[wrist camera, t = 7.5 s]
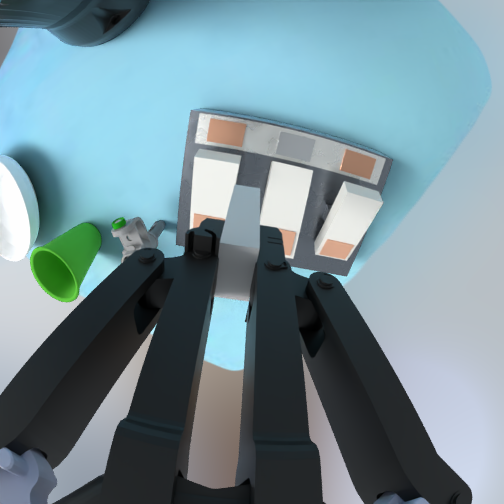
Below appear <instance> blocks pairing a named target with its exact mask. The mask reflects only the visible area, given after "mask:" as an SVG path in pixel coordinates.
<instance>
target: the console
mask: <svg viewBox="0 0 504 504" xmlns="http://www.w3.org/2000/svg"><path fill="white" fill-rule="evenodd" d="M199 149H204V150H211V151H217V152H223V153H229V154H234V155H240V156H241V161H240V166H239V171H238V177H237V182H236V185H242V186H248V187H254V188H260V214H261V209H262V204H263V199H264V195H265V190H266V185H267V180H268V175H269V170H270V166H271V162H272V161H275V162H280V163H284V164H288V165H293V166H297V167H301V168H305V169H309V170H313V174H312V179H311V184H310V188H309V193H308V198H307V202H306V207H305V211H304V215H303V220H302V224H301V228H300V233H299V237H298V241H297V245H296V249H295V253H294V258H293V259H291V258H286V257H285V260H286V261H287V262H288V263H289V264H290V266H292V267H298V268H303V269H309V270H314V271H320V272H325V273H331V274H337V275H342V276H347V275H348V273H349V271H350V268H351V266H352V264H353V262H354V260H355V257H356V255H357V253H358V250H359V248H360V246H361V244H362V241H363V239H364V236H365V234H366V232H367V230H366V232H365V234H364V235H363V237H362V238H361V240H360V241H359V243H358V245H357V246H356V248H355V249H354V251H353V252H352V254H351V255H350V257H349V258H348V260H347V261H346V260H341V259H336V258H331V257H326V256H321V255H315V246H314V242H315V240H316V238H317V236H318V234H319V232H320V230H321V228H322V226H323V224H324V222H325V220H326V218H327V216H328V214H329V212H330V210H331V208H332V206H333V203H334V201H335V199H336V197H337V195H338V193H339V191H340V189H341V186H342V184H343V182H344V181H346V182H349V183H353V184H356V185H359V186H363V187H366V188H369V189H372V190H375V191H379V193H380V196H381V193H382V190H383V188H384V185H385V182H386V179H387V176H388V173H389V171H390V168H391V165H392V162H393V159H391V158H389V157H388V156H386V155H384V154H382V153H380V152H378V151H377V150H374V149H371V148H368V147H365V146H363V145H360V144H357V143H354V142H351V141H348V140H344V139H341V138H338V137H335V136H332V135H328V134H325V133H321V132H318V131H314V130H310V129H307V128H303V127H299V126H295V125H291V124H287V123H282V122H278V121H273V120H269V119H264V118H259V117H254V116H248V115H243V114H237V113H231V112H225V111H218V110H211V109H203V108H200V109H194V110H191V112H190V118H189V125H188V131H187V138H186V146H185V153H184V161H183V170H182V178H181V188H180V198H179V210H178V222H177V236H176V245H180V246H185V233H186V232H187V231H188V230H190V211H191V194H192V179H193V166H194V156H195V155H196V153H197V152H198V150H199Z"/></svg>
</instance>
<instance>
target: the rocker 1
mask: <svg viewBox="0 0 504 504" xmlns="http://www.w3.org/2000/svg"><path fill="white" fill-rule="evenodd" d="M240 161H241V156H240V155H234V154H229V153H223V152H217V151H211V150H204V149H199V150H198V152H197V153H196V155H195V156H194V166H193V179H192V194H191V211H190V229H192V228H196V227H199V226H200V223H201V222H202V221H203V220H205V219H206V218H212V219H219V220H226V216H227V212H228V208H229V204H230V200H231V196H232V193H233V189H234V185H236V182H237V177H238V171H239V166H240Z"/></svg>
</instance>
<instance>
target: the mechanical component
mask: <svg viewBox="0 0 504 504" xmlns="http://www.w3.org/2000/svg"><path fill="white" fill-rule="evenodd" d="M112 226H113V229H112V230H111V232H112V234H113V237H119V238H120V240H121V243H122V245H123V247H124V250H123V251H122V254H123V257H122V259H121V263H123V262H124V261H125V260H126V259H127V258H128V257H129V256H130V255H131V254H133V253H134V252H135V251H137V250H139V249H142V248H155V249H156V248H157V246H158V237H159V236H160V234H161V233H162V231H163V230H164V228H165V222H164V221H163V220H160V221H159V222H157V221H156V222H155V223H154V224H153V226H152V227H151V229H150V230H149V231H148V232H147V229H146V227H145V225H144V222H143V221H142V219H141V218H139V217H136V218H133V219H130V220H126V221H125V219H124V217H121V218H118V219H116V220H115V221H113V222H112ZM127 236H128V237H127ZM128 238H129V239H128Z"/></svg>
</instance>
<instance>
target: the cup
mask: <svg viewBox="0 0 504 504" xmlns="http://www.w3.org/2000/svg"><path fill="white" fill-rule="evenodd" d="M101 242H102V238H101V235H100V232H99V231H98V229H97V228H96V227H95V226H94V225H92V224H90V223H81V224H79V225H77V226H76V227H74V228H72V229H70V230H69V231H67V232H65V233H64V234H62V235H60V236H59V237H57V238H55V239H54V240H52V241H51V242H49V243H47V244H46V245H44V246H43V247H37V248H35V249H34V250H33V252H32V254H31V257H30V265H31V270H32V272H33V275H34V277H35V279H36V280H37V282H38V284H39V285H40V286H41V288H42V289H43V290H44V291H45V292H47V294H49V295H50V296H51V297H53V298H55V299H57V300H59V301H62V302H71V301H74V300H75V299H77V297H78V295H79V288H80V286H81V284H82V281H83V279H84V277H85V275H86V273H87V271H88V269H89V267H90V266H91V264H92V262H93V260H94V258H95V256H96V254H97V252H98V250H99V249H100V247H101Z"/></svg>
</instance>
